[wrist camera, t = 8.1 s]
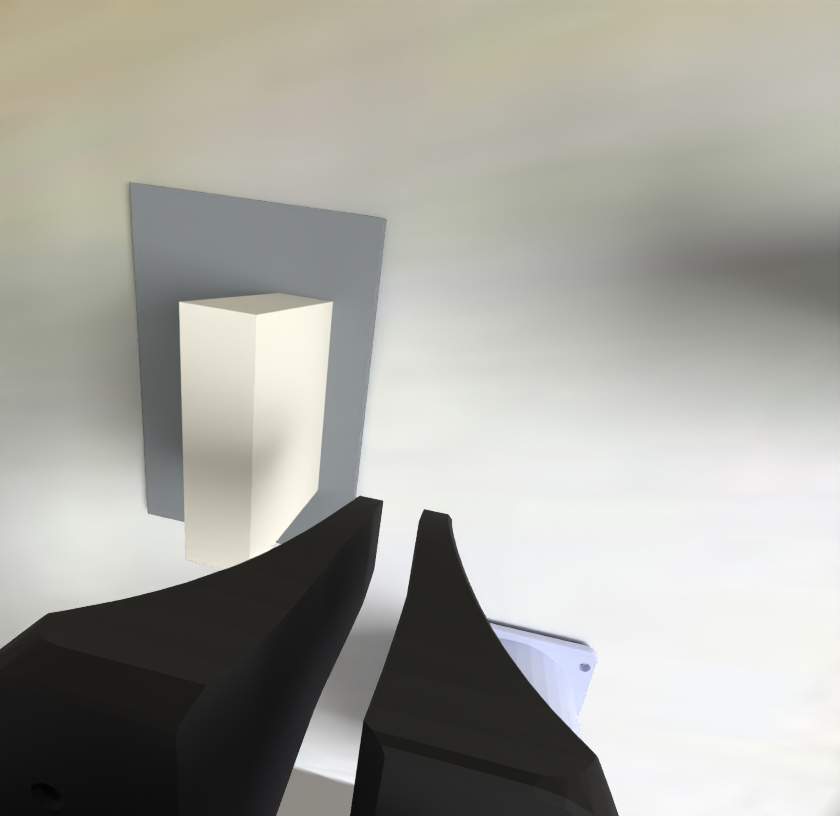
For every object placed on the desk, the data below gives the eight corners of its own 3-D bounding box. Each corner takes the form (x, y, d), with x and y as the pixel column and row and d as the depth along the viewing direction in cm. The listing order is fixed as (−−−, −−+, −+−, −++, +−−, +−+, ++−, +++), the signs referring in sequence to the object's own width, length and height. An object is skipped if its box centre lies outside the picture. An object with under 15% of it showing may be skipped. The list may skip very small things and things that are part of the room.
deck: (317, 490, 22) (249, 574, 15) (270, 480, 22) (184, 559, 16) (332, 301, 19) (256, 314, 13) (278, 292, 19) (177, 301, 13)
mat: (349, 553, 23) (346, 558, 22) (153, 509, 24) (148, 513, 24) (386, 219, 18) (384, 218, 17) (137, 184, 19) (129, 182, 19)
